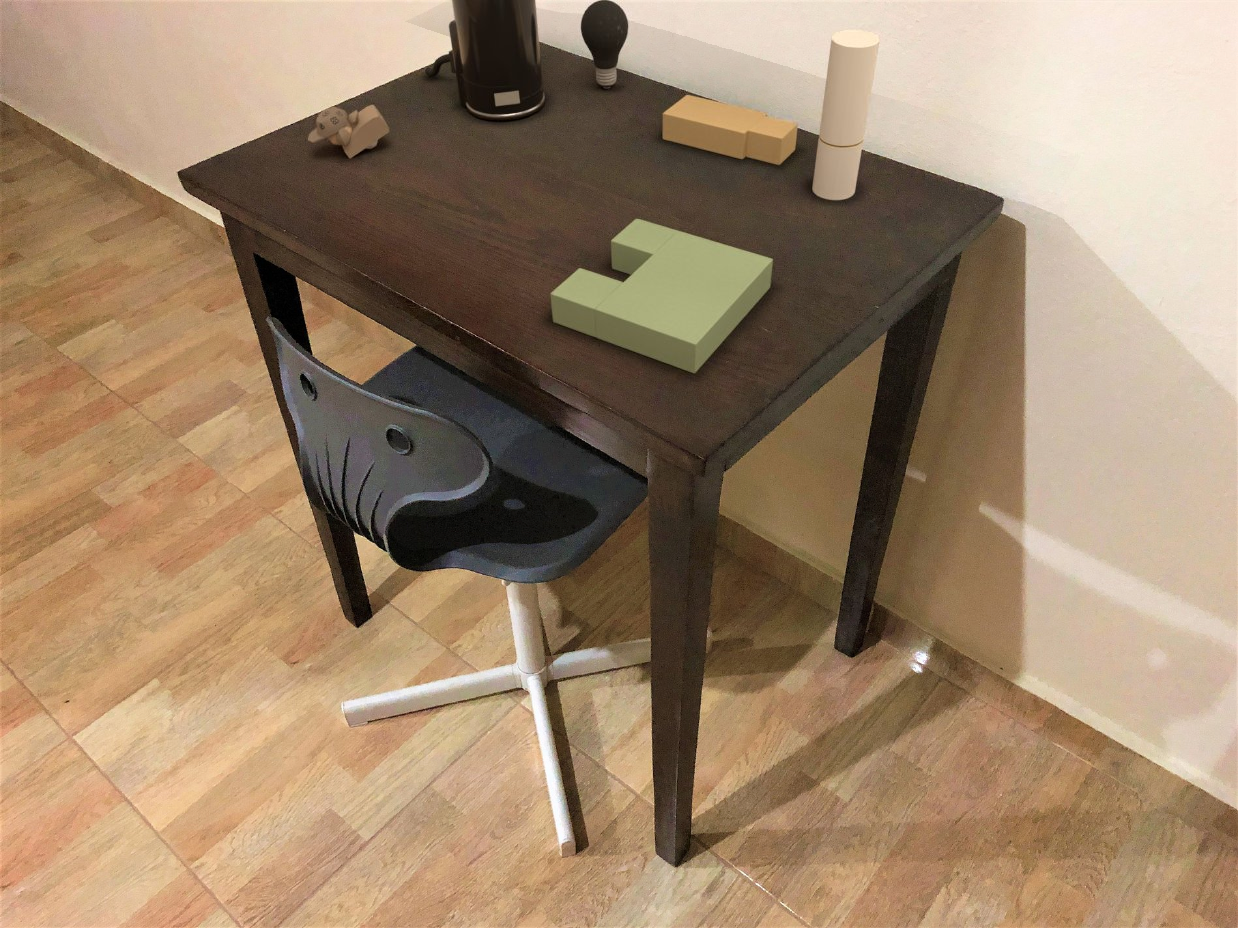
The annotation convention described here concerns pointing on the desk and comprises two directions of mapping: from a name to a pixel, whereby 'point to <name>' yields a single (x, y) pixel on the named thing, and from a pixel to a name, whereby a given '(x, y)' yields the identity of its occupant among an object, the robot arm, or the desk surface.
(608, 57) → the light bulb
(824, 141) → the tube
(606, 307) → the base pad
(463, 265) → the desk surface
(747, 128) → the loose pad
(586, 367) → the desk surface
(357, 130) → the toy character
